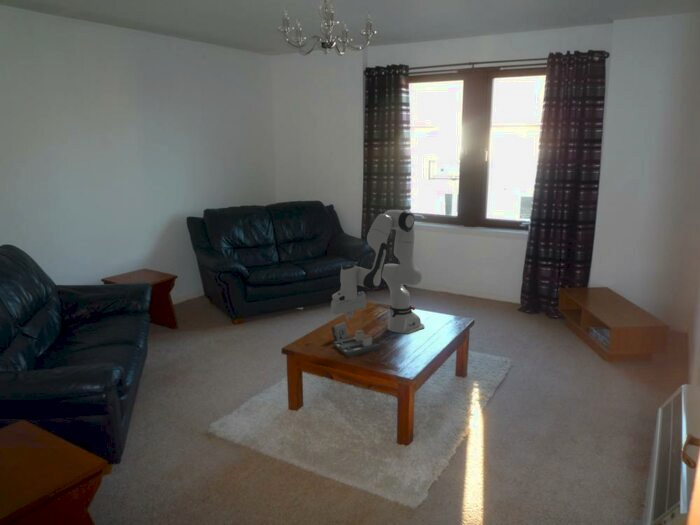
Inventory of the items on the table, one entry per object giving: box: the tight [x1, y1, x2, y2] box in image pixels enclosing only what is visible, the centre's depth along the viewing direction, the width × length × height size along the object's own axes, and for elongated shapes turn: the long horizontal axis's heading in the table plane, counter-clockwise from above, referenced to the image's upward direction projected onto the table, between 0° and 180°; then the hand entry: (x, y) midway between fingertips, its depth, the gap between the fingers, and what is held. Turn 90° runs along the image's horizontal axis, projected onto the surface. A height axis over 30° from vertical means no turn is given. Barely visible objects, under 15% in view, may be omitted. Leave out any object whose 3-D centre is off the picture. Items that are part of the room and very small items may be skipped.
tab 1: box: [354, 329, 365, 341], centre depth 284 cm, size 4×3×6 cm
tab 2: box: [362, 334, 373, 347], centre depth 277 cm, size 4×3×6 cm
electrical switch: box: [330, 321, 349, 342], centre depth 291 cm, size 9×5×9 cm, turn 141°
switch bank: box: [333, 336, 382, 357], centre depth 280 cm, size 20×16×3 cm
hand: (349, 318), depth 278 cm, fingers closed
